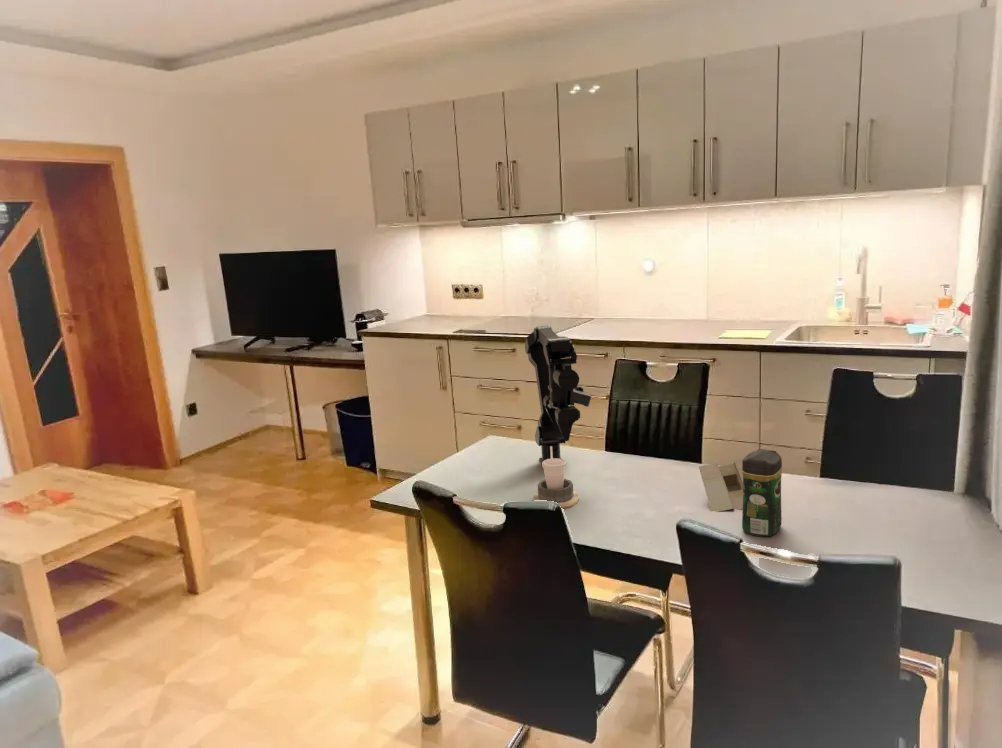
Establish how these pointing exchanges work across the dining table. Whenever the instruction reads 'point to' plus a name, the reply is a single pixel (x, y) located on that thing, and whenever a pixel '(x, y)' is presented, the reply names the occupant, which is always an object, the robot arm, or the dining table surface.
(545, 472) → the smoothie
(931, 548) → the dining table surface
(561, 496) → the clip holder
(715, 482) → the open cardboard box
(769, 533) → the coffee jar
